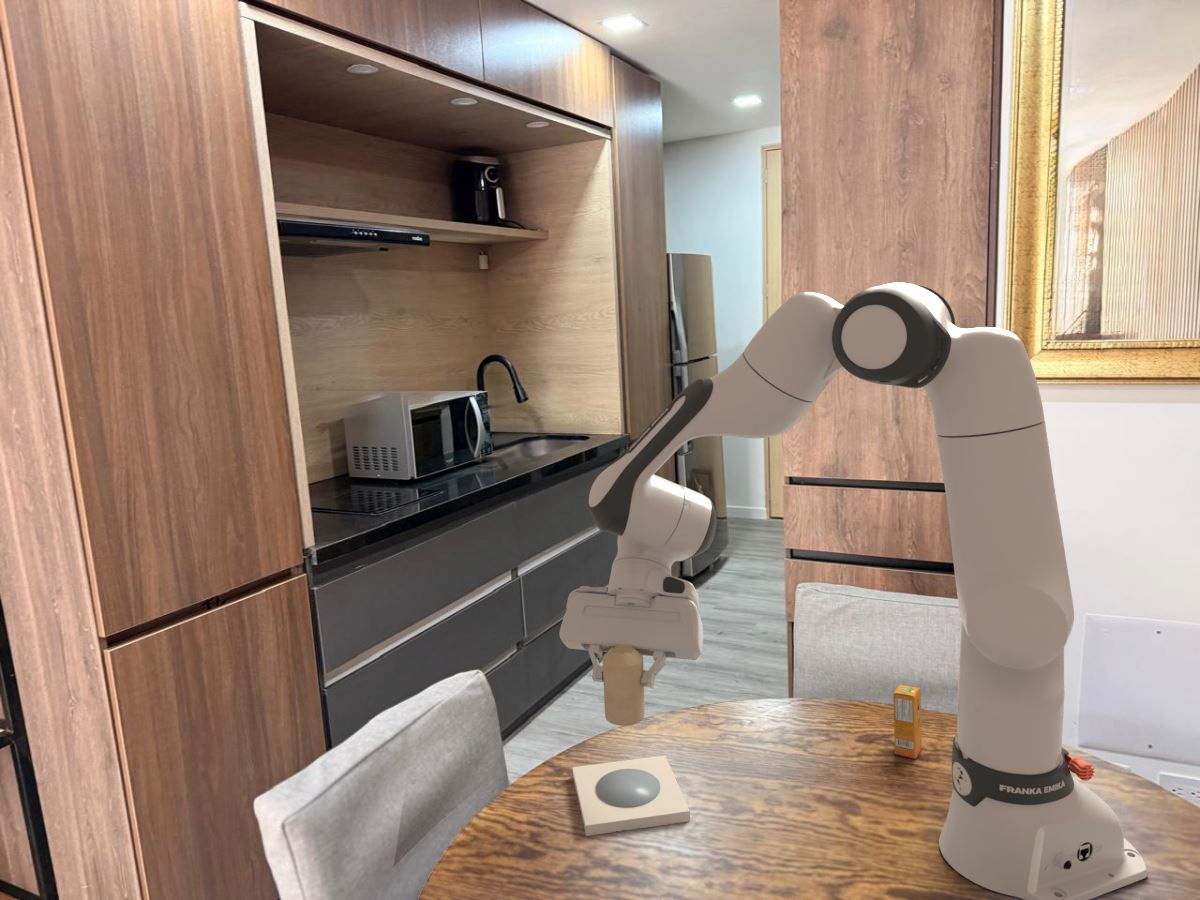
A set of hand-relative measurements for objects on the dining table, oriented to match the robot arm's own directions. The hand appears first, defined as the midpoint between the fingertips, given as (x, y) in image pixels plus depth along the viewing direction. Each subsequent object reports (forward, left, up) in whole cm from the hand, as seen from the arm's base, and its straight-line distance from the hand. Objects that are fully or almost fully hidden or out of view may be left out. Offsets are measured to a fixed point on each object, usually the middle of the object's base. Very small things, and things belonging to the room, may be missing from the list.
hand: (622, 683), depth 110 cm
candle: (0, -1, -5) cm, 5 cm away
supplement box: (-43, -3, -18) cm, 47 cm away
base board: (0, -1, -17) cm, 17 cm away
